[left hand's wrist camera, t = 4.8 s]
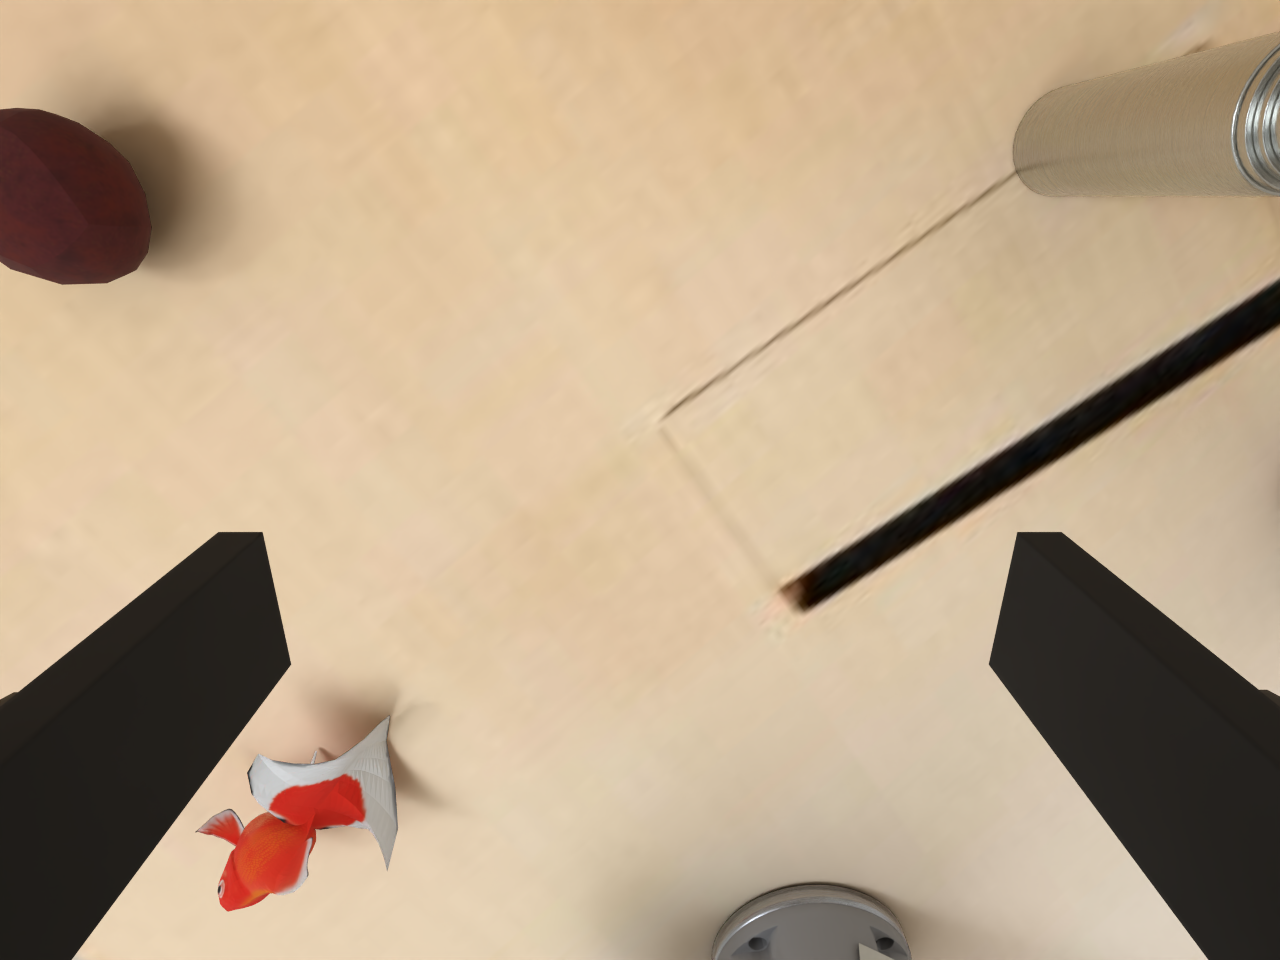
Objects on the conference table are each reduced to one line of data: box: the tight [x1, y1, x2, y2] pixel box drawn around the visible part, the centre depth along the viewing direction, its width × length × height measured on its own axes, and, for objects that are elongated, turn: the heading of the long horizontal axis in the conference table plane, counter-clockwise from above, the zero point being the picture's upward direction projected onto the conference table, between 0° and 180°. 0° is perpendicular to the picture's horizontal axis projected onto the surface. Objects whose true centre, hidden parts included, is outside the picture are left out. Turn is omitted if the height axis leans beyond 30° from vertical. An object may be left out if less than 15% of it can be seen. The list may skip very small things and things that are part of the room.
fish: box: [196, 715, 398, 911], centre depth 46 cm, size 11×16×10 cm
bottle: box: [1013, 32, 1280, 197], centre depth 27 cm, size 5×5×19 cm
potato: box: [0, 108, 151, 284], centre depth 33 cm, size 7×8×7 cm
